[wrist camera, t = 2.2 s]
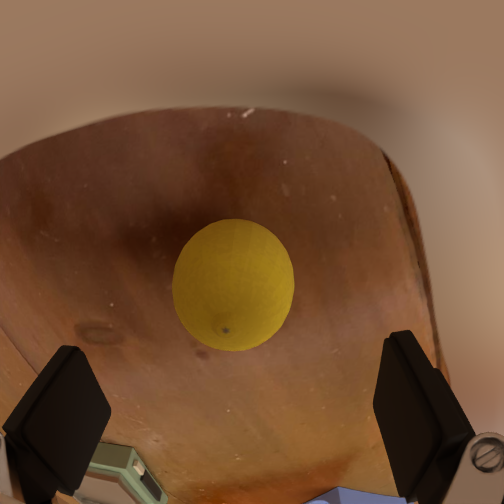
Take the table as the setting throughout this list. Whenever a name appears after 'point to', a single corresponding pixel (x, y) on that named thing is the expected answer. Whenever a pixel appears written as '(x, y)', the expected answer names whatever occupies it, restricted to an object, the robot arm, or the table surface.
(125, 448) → the scale
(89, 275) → the table surface
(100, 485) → the pan
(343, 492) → the half pipe
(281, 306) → the lemon
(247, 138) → the table surface
